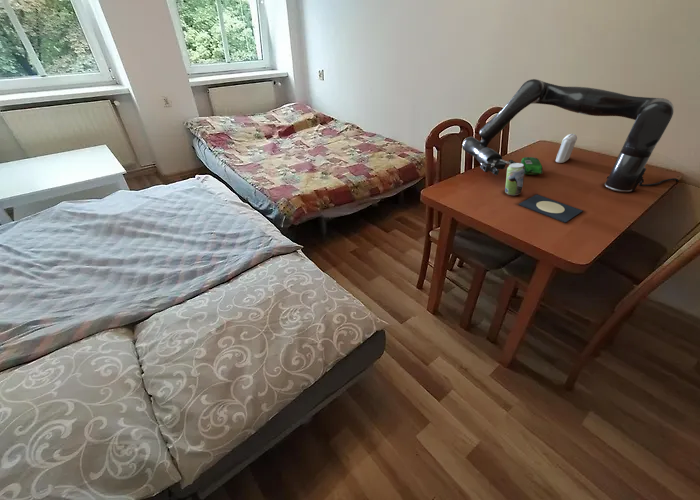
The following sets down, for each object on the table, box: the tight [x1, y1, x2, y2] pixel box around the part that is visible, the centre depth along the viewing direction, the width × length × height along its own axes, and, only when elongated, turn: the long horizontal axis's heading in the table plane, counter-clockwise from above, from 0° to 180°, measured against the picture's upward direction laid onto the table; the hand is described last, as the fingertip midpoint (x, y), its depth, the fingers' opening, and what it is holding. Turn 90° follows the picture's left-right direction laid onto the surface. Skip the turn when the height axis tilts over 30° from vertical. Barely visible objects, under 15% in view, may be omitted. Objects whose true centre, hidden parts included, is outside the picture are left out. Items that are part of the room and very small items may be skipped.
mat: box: [518, 193, 584, 224], centre depth 119 cm, size 17×13×1 cm
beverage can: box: [504, 162, 525, 196], centre depth 126 cm, size 6×7×12 cm
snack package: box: [520, 156, 544, 176], centre depth 146 cm, size 7×16×5 cm, turn 165°
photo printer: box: [555, 133, 578, 164], centre depth 155 cm, size 10×4×12 cm, turn 134°
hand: (507, 172), depth 130 cm, fingers open, 8 cm apart
